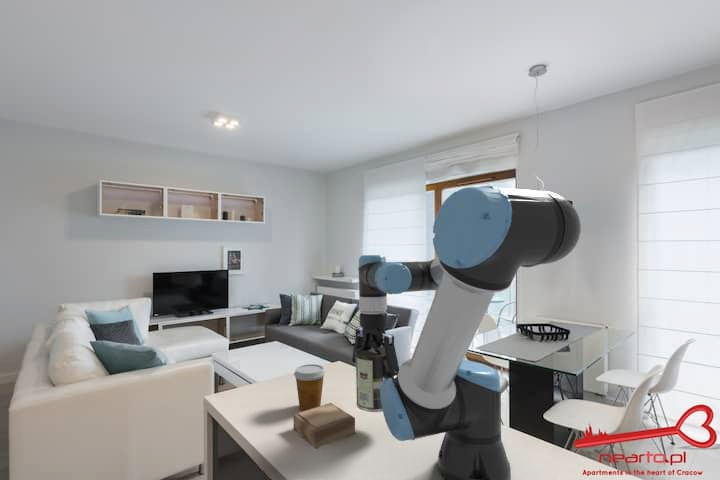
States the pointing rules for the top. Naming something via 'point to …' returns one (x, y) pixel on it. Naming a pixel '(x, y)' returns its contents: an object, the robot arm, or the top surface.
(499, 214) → the robot arm
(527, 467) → the top surface
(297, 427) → the stand
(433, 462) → the top surface
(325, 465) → the top surface
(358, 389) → the coffee can
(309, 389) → the disposable coffee cup
